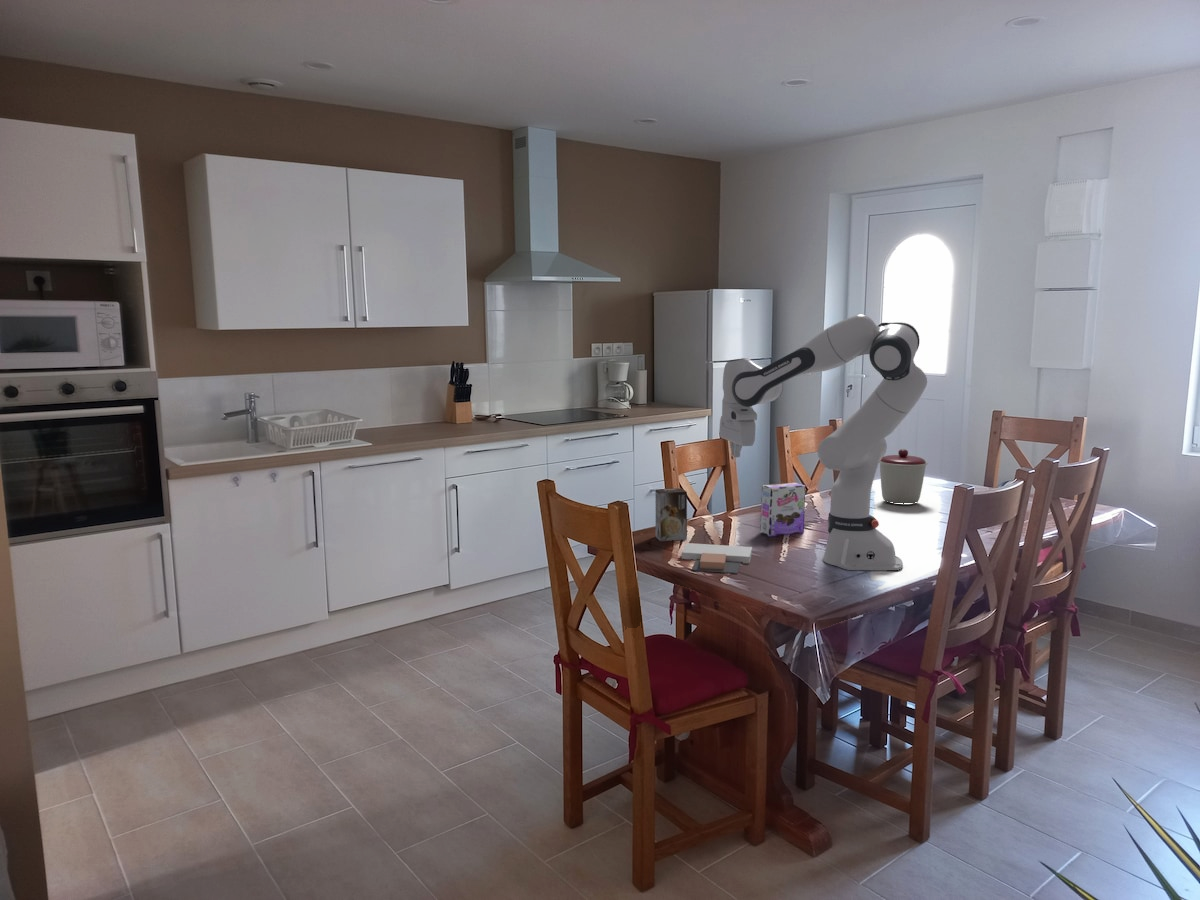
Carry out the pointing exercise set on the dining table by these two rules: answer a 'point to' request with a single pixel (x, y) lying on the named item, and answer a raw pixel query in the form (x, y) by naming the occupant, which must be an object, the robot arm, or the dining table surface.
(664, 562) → the dining table surface
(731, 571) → the mat
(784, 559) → the dining table surface
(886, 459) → the canister
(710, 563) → the tile
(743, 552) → the deck
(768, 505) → the candy box
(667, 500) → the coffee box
